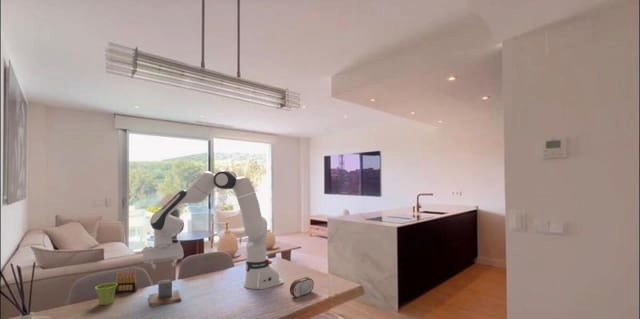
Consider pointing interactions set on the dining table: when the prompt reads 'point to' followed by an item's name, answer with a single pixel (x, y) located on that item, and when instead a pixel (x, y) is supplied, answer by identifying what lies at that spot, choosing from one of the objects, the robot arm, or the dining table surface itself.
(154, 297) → the base plate
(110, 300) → the plant pot
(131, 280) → the brown slatted box
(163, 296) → the grey square block
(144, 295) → the dining table surface
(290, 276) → the dining table surface
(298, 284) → the tin
